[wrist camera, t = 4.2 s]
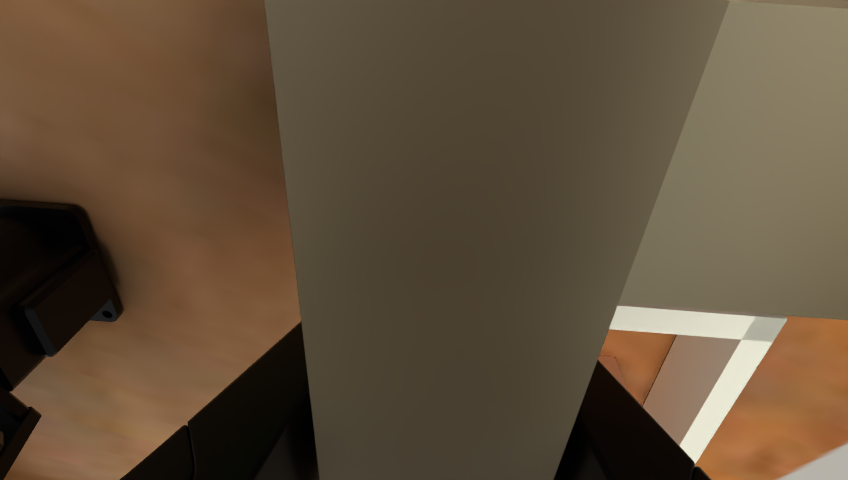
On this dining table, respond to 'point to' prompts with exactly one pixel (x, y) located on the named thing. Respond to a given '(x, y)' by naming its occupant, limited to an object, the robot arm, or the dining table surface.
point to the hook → (541, 203)
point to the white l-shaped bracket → (700, 365)
